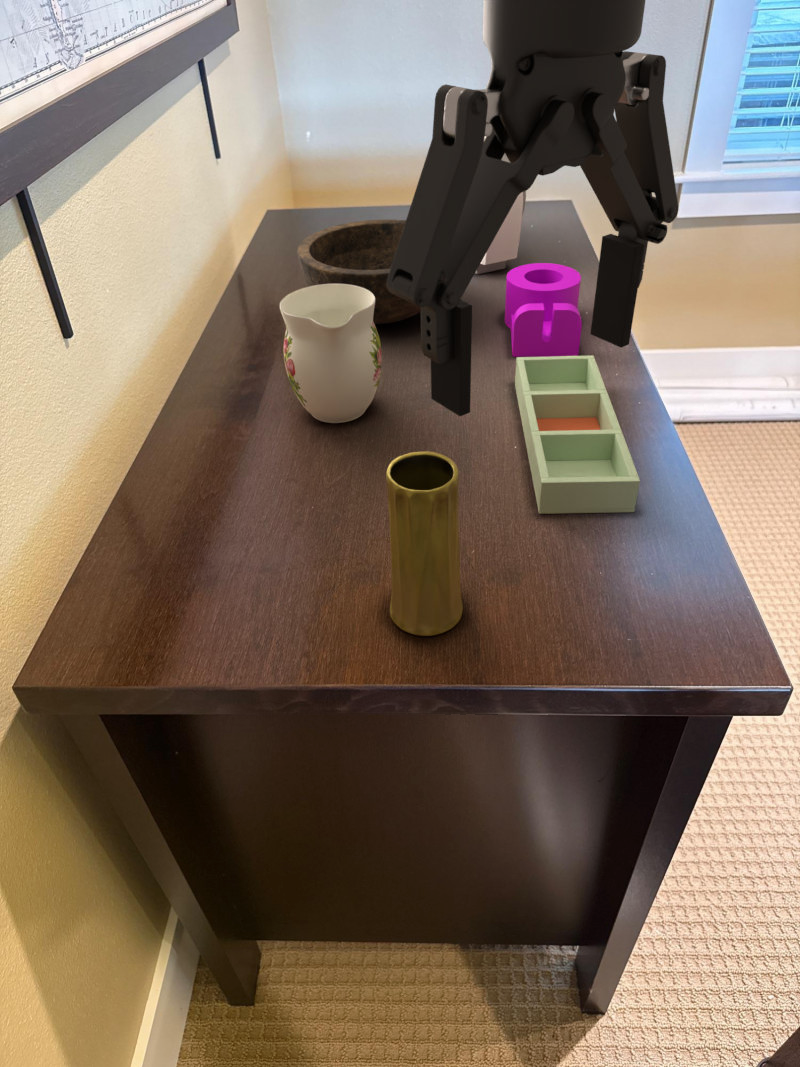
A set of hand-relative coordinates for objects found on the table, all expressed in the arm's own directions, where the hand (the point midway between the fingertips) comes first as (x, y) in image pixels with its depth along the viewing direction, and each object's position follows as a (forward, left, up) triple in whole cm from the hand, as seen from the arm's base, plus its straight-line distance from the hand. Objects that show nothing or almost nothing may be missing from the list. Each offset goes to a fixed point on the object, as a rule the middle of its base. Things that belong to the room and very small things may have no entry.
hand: (534, 371), depth 49 cm
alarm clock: (+65, -51, -23) cm, 86 cm away
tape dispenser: (+39, -41, -23) cm, 61 cm away
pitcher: (+40, -8, -23) cm, 47 cm away
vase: (+6, +5, -23) cm, 24 cm away
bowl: (+58, -27, -23) cm, 68 cm away
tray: (+17, -23, -23) cm, 37 cm away
